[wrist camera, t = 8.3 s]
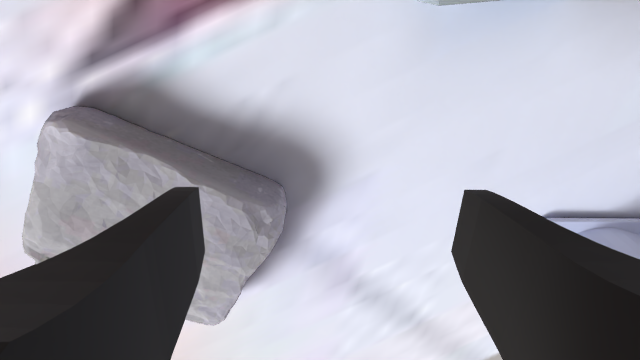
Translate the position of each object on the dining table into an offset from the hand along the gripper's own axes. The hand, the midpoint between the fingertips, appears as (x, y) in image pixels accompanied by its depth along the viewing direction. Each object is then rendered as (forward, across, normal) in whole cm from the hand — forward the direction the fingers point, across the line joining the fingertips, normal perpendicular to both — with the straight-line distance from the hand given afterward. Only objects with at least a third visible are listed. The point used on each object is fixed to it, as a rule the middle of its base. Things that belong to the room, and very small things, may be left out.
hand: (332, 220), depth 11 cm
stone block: (+11, +8, +6) cm, 15 cm away
